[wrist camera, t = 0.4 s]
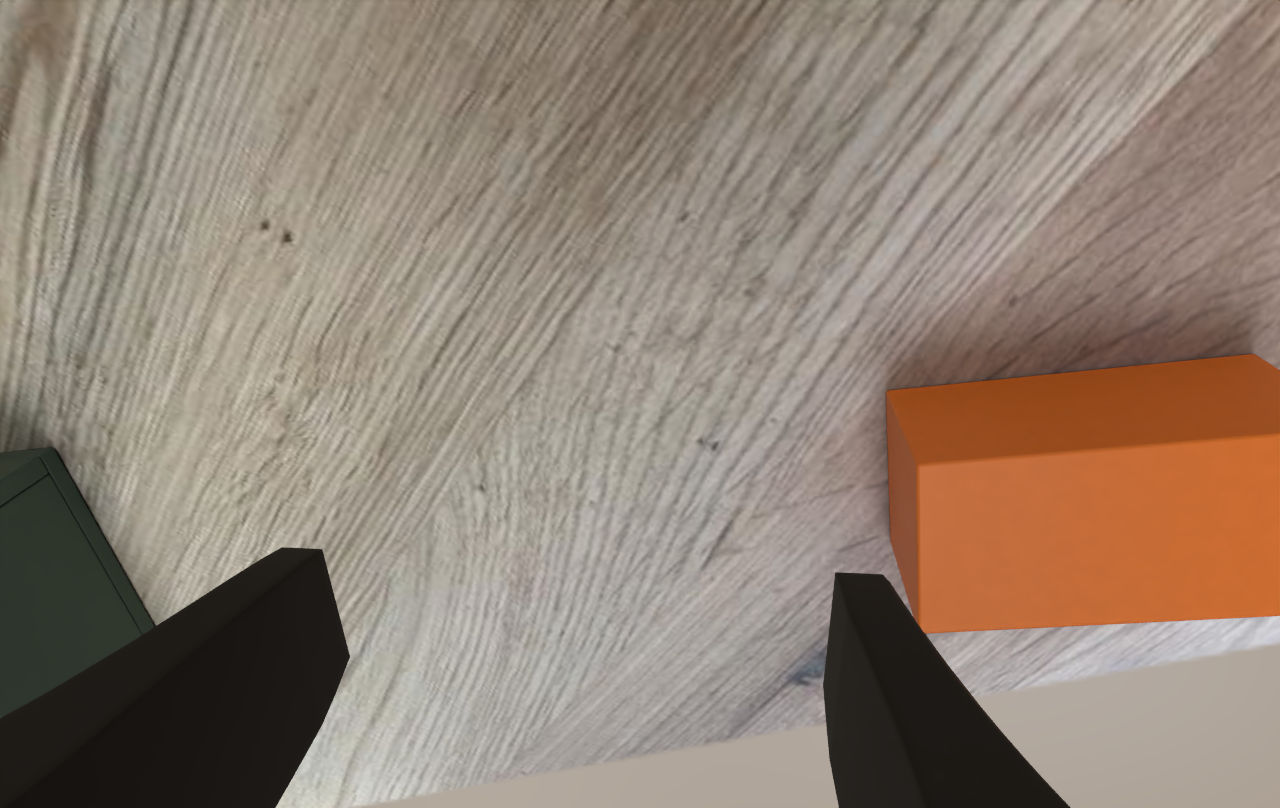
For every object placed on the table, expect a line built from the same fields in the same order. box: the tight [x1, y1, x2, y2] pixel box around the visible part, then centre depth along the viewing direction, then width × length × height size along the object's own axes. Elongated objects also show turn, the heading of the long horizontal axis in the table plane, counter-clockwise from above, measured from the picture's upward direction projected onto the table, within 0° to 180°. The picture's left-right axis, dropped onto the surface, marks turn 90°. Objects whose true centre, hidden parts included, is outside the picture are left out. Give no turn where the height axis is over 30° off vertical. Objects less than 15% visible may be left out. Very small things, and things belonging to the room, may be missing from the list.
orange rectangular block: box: [886, 354, 1280, 633], centre depth 17 cm, size 4×8×4 cm, turn 100°
